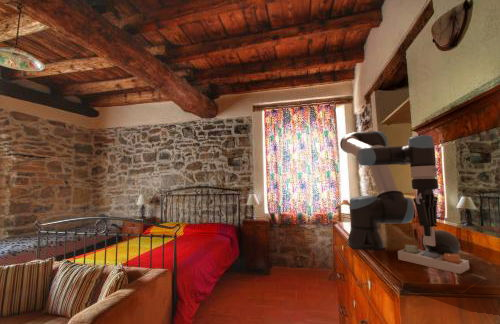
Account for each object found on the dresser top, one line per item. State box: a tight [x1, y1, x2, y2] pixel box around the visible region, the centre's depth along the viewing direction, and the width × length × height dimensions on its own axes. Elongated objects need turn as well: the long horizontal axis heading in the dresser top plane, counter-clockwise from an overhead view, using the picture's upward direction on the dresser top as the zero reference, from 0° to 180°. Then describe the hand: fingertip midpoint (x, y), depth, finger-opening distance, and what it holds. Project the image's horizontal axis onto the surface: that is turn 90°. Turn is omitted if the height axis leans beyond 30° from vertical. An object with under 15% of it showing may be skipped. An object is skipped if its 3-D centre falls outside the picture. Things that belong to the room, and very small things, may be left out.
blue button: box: [423, 250, 438, 259], centre depth 81 cm, size 4×4×2 cm
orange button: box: [444, 253, 461, 264], centre depth 76 cm, size 4×4×2 cm
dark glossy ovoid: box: [422, 229, 461, 255], centre depth 85 cm, size 10×10×15 cm
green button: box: [404, 244, 419, 254], centre depth 86 cm, size 4×4×2 cm
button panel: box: [397, 248, 470, 274], centre depth 81 cm, size 18×8×3 cm, turn 30°
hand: (430, 245), depth 80 cm, fingers closed
